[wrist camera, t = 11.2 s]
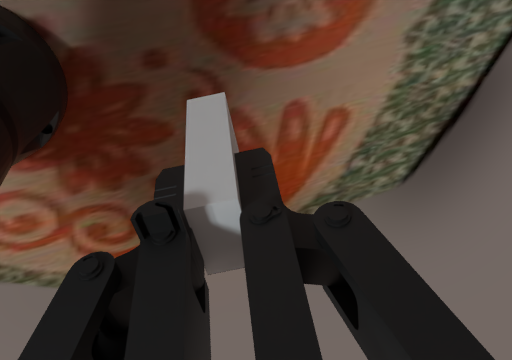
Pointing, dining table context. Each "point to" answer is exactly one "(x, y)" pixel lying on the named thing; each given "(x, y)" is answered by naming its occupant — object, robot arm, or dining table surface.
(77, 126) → the dining table surface
